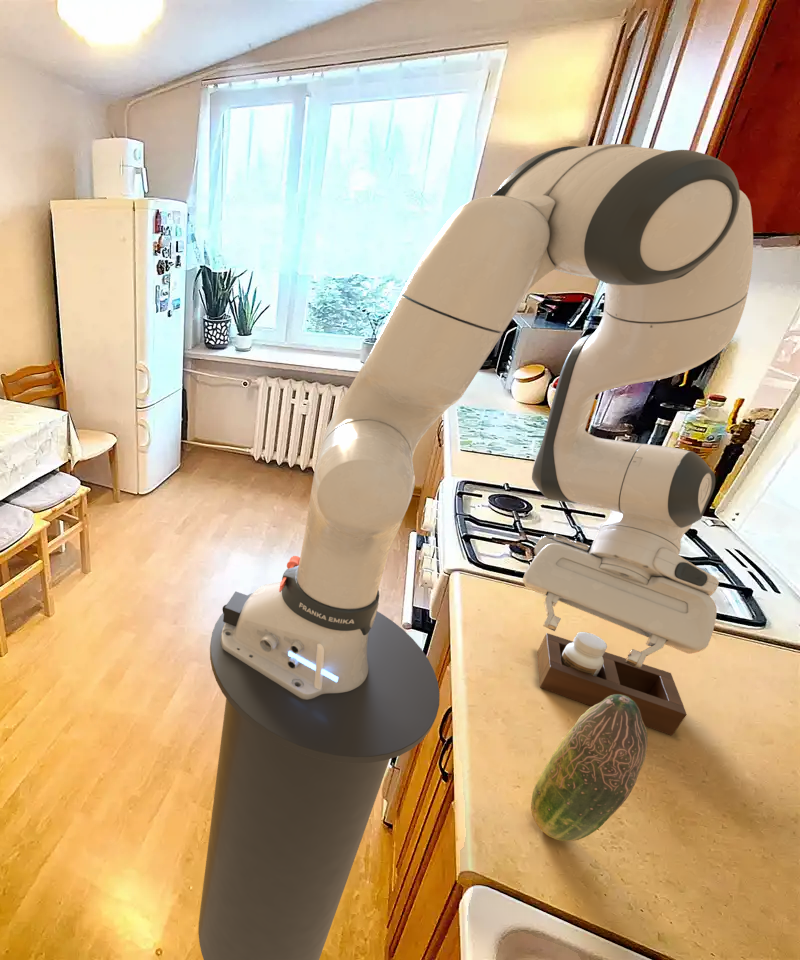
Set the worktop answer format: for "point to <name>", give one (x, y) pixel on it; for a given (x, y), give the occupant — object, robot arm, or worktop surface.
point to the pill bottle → (585, 653)
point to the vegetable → (591, 770)
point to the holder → (613, 684)
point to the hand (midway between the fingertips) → (589, 645)
